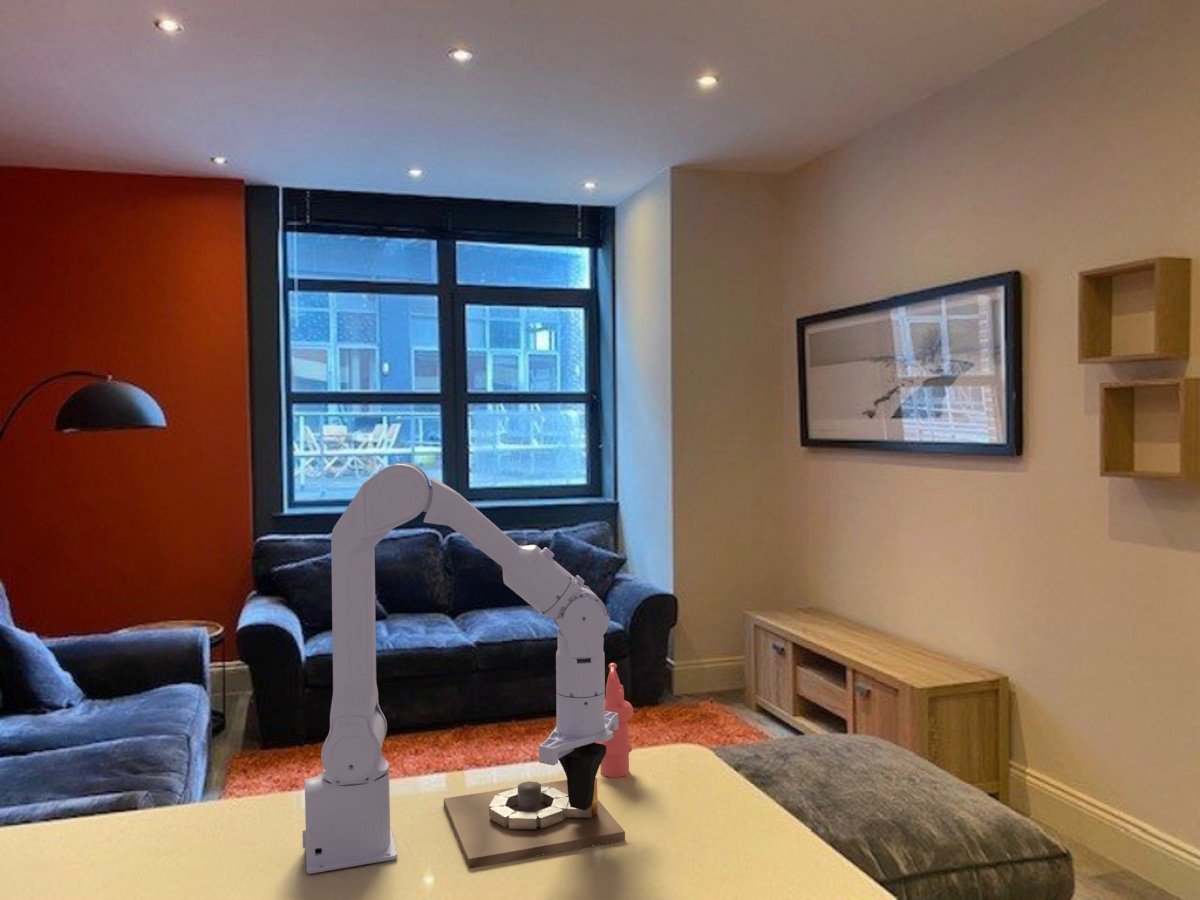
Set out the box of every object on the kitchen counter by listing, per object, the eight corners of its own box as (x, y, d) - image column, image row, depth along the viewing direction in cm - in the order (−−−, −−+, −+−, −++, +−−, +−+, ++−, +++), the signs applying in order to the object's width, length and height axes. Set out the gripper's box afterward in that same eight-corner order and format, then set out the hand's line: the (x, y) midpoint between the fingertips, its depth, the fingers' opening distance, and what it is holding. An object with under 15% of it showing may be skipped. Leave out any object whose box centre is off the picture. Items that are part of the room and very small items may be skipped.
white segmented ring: (483, 827, 101) (482, 793, 101) (500, 795, 110) (499, 763, 110) (593, 830, 99) (592, 795, 99) (601, 797, 109) (600, 765, 109)
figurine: (634, 779, 118) (632, 668, 117) (596, 779, 118) (594, 669, 117) (633, 765, 123) (632, 658, 122) (597, 765, 123) (595, 659, 123)
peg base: (468, 868, 94) (467, 822, 94) (443, 806, 110) (442, 766, 110) (625, 840, 100) (624, 796, 100) (579, 785, 116) (579, 747, 116)
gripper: (576, 712, 94) (577, 838, 94) (639, 680, 107) (640, 791, 107) (523, 703, 98) (523, 823, 98) (590, 673, 110) (591, 780, 110)
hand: (581, 806), depth 103 cm, fingers closed, pressing on white segmented ring
